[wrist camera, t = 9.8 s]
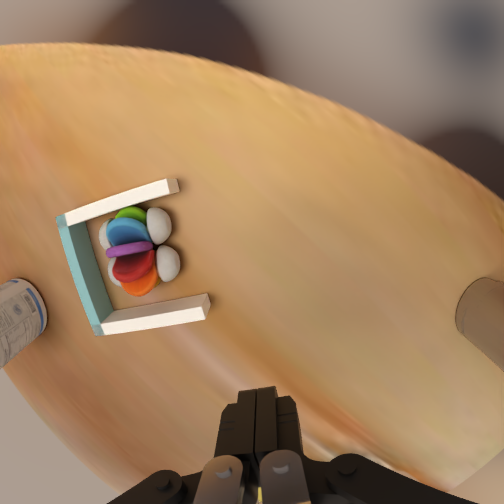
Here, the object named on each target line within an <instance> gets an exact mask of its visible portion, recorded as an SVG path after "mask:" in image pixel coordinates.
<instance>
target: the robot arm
mask: <svg viewBox="0 0 504 504" xmlns="http://www.w3.org/2000/svg"><path fill="white" fill-rule="evenodd" d="M456 325H457V328H458V330H459V331H460V332H461V333H462V334H463V335H464V336H465V337H466V338H467V339H469V340H470V341H471V342H472V343H473V344H474V345H475V346H476V347H477V348H478V349H480V350H481V351H482V352H483V353H484V354H485V355H486V356H487V357H488V358H489V359H491V360H492V361H493V362H494V363H495V364H496V365H497V366H498V367H499V368H500V369H501V370H502V371H503V372H504V283H502V282H500V281H497V282H495V281H493V280H491V279H489V278H482V279H479V280H477V281H475V282H474V283H473V284H472V285H470V286H469V287H468V289H467V290H466V291H465V293H464V294H463V296H462V298H461V300H460V302H459V304H458V308H457V312H456ZM259 487H261V494H262V504H478V503H475V502H472V501H469V500H466V499H463V498H459V497H457V496H454V495H451V494H448V493H445V492H443V491H440V490H437V489H435V488H432V487H430V486H427V485H425V484H422V483H420V482H417V481H415V480H413V479H410V478H408V477H405V476H403V475H401V474H399V473H396V472H394V471H392V470H390V469H388V468H386V467H383V466H381V465H379V464H377V463H375V462H373V461H371V460H369V459H367V458H365V457H363V456H361V455H358V454H352V453H350V454H343V455H340V456H337V457H336V458H334V459H333V460H331V461H330V462H320V461H315V460H312V459H309V458H308V457H306V456H305V455H304V454H303V445H302V437H301V429H300V423H299V418H298V413H297V408H296V403H295V402H294V400H293V399H292V398H291V397H290V396H284V397H278V394H277V390H276V387H275V386H271V387H265V388H258V389H252V390H244V391H239V393H238V400H237V403H234V404H228V405H227V406H226V408H225V409H224V410H223V412H222V415H221V420H220V426H219V431H218V437H217V443H216V448H215V454H214V458H213V459H211V460H210V461H209V462H208V463H207V464H206V465H205V466H204V469H203V471H200V472H198V473H195V474H191V475H187V476H182V477H180V475H179V474H178V473H176V472H175V471H172V470H161V471H157V472H155V473H153V474H152V475H150V476H149V477H147V478H146V479H145V480H143V481H142V482H140V483H139V484H137V485H136V486H134V487H132V488H131V489H129V490H128V491H126V492H125V493H123V494H122V495H120V496H118V497H117V498H115V499H114V500H112V501H110V502H109V503H107V504H259V499H258V488H259Z"/></svg>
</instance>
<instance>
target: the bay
mask: <svg viewBox="0 0 504 504" xmlns="http://www.w3.org/2000/svg"><path fill="white" fill-rule="evenodd" d="M177 192H180V190H179V186H178V182H177V179H163V180H160V181H157V182H153V183H150V184H147V185H144V186H141V187H138V188H135V189H131V190H128V191H125V192H122V193H120V194H117V195H114V196H111V197H108V198H105V199H102V200H99V201H97V202H94V203H91V204H88V205H86V206H83V207H80V208H78V209H75V210H72V211H70V212H67V213H65V214H62V215H60V216H57V217H56V221H57V225H58V229H59V233H60V237H61V240H62V244H63V247H64V251H65V254H66V257H67V260H68V264H69V267H70V270H71V273H72V276H73V279H74V282H75V285H76V287H77V290H78V293H79V296H80V299H81V301H82V304H83V306H84V309H85V312H86V314H87V317H88V319H89V322H90V324H91V326H92V329H93V331H94V334H95V336H102V335H109V334H116V333H124V332H131V331H137V330H144V329H150V328H157V327H163V326H169V325H175V324H181V323H187V322H193V321H198V320H204V319H206V316H207V314H208V311H209V308H210V305H211V304H210V300H209V297H208V294H207V293H205V294H200V295H195V296H190V297H185V298H180V299H175V300H170V301H164V302H159V303H154V304H149V305H143V306H138V307H132V308H127V309H121V310H116V311H114V310H113V308H112V305H111V302H110V299H109V297H108V294H107V291H106V288H105V285H104V282H103V279H102V277H101V273H100V270H99V267H98V264H97V261H96V258H95V255H94V251H93V248H92V244H91V241H90V238H89V234H88V230H87V227H86V223H85V221H87V220H90V219H93V218H96V217H99V216H102V215H105V214H108V213H111V212H114V211H117V210H120V209H123V208H125V207H128V206H133V205H136V204H139V203H143V202H146V201H149V200H153V199H156V198H159V197H163V196H166V195H170V194H173V193H177Z"/></svg>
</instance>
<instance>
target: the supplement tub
mask: <svg viewBox="0 0 504 504" xmlns="http://www.w3.org/2000/svg"><path fill="white" fill-rule="evenodd" d="M46 323H47V314H46V308H45V305H44V302H43V300H42V298H41V296H40V294H39V293H38V291H37V290H36V289H35V288H34V287H33V286H32V285H31V284H30V283H29V282H27V281H25V280H23V279H12V280H10V281H8V282H6V283H4V284H2V285H0V369H1V368H2V367H3V366H5V365H6V364H7V363H8V362H9V361H10V360H11V359H12V358H14V357H15V356H16V355H17V354H18V353H19V352H20V351H21V350H23V349H24V348H25V347H26V346H27V345H28V344H30V343H31V342H32V341H33V340H34V339H35V338H37V337H38V336H39V335H40V334H41V333H42V332H43V331H44V329H45V327H46Z"/></svg>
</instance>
